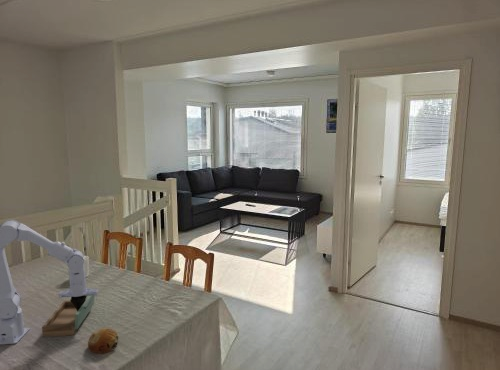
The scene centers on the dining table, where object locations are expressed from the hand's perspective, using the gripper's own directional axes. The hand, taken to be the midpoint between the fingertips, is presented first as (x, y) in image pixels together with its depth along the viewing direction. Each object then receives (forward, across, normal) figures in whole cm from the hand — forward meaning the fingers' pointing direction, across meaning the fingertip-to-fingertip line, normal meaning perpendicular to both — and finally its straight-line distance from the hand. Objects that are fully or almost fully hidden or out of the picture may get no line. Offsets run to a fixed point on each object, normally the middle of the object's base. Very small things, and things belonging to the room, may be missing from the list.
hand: (80, 312), depth 141 cm
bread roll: (+4, -14, +18) cm, 24 cm away
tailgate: (+2, -2, 0) cm, 2 cm away
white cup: (+4, +16, -45) cm, 48 cm away
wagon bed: (+3, +5, 0) cm, 6 cm away
